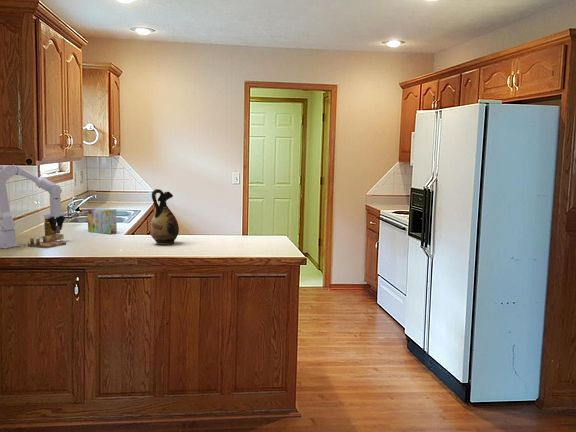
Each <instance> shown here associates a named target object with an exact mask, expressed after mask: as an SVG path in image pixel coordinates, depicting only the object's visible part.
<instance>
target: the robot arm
mask: <svg viewBox="0 0 576 432" xmlns="http://www.w3.org/2000/svg"><path fill="white" fill-rule="evenodd" d="M14 176H20V177H21V176H22V177H23V178H26V179H28V180H29V181H32V182H33V183H35V186H36V187H38V188H39V189H42V190H44V191H45V192H48V194H49V211H50V212H49V214H44V215H43V216H44V217H43V219H44V220H45V219H47V220H48V221H49V223H50V225H51V228H52V231H56V226H60V231H62V227H63V223H64V222H65V220H66V217H68V216H69V214H68V212H62V198H61V194H62V188H61V186H60V185H58V184H55V182H54V181H51V180H50V179H49V180H48V179H47V177H45V176H39V177H38V176H37V175H35V174H33V173H31V172H30V171H27V170H26V169H25V168H23V167H21V166H17V165H15V166H3V165H2V166H1V167H0V249H7V248H13V247H20V244H17V242H16V229H15V226H16V222H15V220H14V218H13V216H12V212H11V208H10V203H9V198H8V190H7V184H6V183H7V182H8V181H9V179H10V178H12V177H14Z"/></svg>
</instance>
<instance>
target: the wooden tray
mask: <svg viewBox="0 0 576 432" xmlns="http://www.w3.org/2000/svg"><path fill="white" fill-rule="evenodd" d="M42 237H43V239H42V241H41V240H40V239H41V238H36V239H34V237H33V238H30V239H29V242H30V243H28V244H27V247H30V248H37V249H38V248H39V249H50V248H56V247H61V246H66V245H67V242H66V241H57V240H56V241H48V242H47V241H45V235H43V236H42Z"/></svg>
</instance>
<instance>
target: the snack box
mask: <svg viewBox="0 0 576 432" xmlns="http://www.w3.org/2000/svg"><path fill="white" fill-rule="evenodd" d="M86 211H87V230H88V231H87V232H88V233H95V234H104V235H105V234H106V235H114V234H115V235H116V234H118V233H117V232H118V231H117V229H118V227H117V208H116V209H115V208H114V209H113V208H100V207H99V208H98V207H91V208H90V207H88V208H87V209H86Z"/></svg>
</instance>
